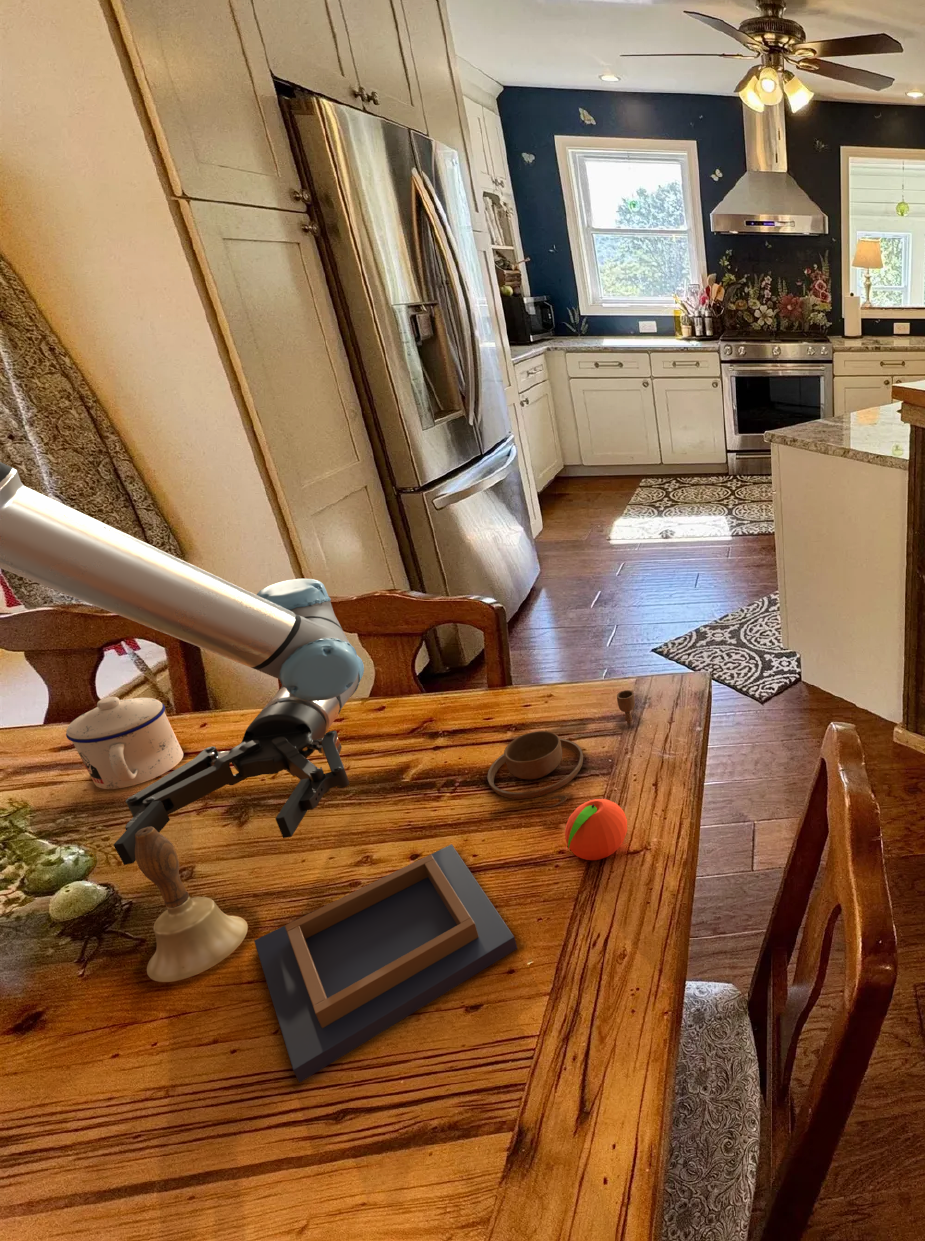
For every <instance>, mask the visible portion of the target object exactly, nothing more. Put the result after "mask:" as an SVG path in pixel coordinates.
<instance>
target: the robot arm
mask: <svg viewBox="0 0 925 1241" xmlns="http://www.w3.org/2000/svg"><path fill="white" fill-rule="evenodd" d="M21 480H22V479H21V478H20V474H19V471H18V470H17V469H16V468H14V467H12V466H10V465H8V464H5V463H4V462H2V461H0V569H1V570H4V571H6V572H9V573H11V574H14V575H16V576H19V577H21V578H24V579H26V580H29V581H31V582H34V583H36V584H38V585H42V586H43V587H46V588H49V589H51V590H54V591H56V592H59V593H61V594H64V595H67V596H68V597H70V598H71V597H72V598H74V599H76V600H79V601H82V602H84V603H87V604H89V605H91V606H94V607H97V608H100V609H101V610H104V611H107V612H109V613H112V614H113V615H114V614H115V615H117V616H120V617H121V618H125V619H128V620H130V621H133V622H135V623H138V624H140V625H142V626H145V627H147V628H150V629H153V630H155V631H157V632H160V633H163V634H165V635H167V636H170V637H173V638H175V639H177V640H180V641H183V642H186V643H188V644H191V645H193V646H195V647H198V648H200V649H203V650H205V651H208V652H211V653H213V654H216V655H218V656H221V657H223V658H226V659H229V660H231V661H233V662H236V663H238V664H241V665H243V666H246V667H249V668H251V669H254V670H256V671H258V672H260V673H263V674H266V675H267V676H270V677H273V678H275V679H277V680H279V681H280V684H281V687H280V688H279V689H278V690H277V692H276V693H275V695H274V696H273V697H272V698H271V699H270V700H269V701H268V703H266V705H265V706H264V707H263V708H262V709H261V711H260V712H259V713H258V714H257V716H255V718H254V719H253V720H252V722H251V723H250V724H249V725H248V726H247V728H246V730H245V732H244V734H243V737H242V740H241V742H240V743H238V745H236V746H234V747H232V748H231V749H230V750H225V751H218V749H217V747H216V746H209V747H206V748H204V749H203V750H202V751H201V752H199V753H198V754H197V755H196V756H195V757H194V758H193V759H191V760H189V761H188V762H186V763H184V764H182V765H181V766H180V767H177V768H176V769H174V770H173V771H171V772H169V773H167V774H166V775H164V776H162V777H160V778H159V779H158V780H156V781H155V782H152V783H151V784H149V785H147V786H146V787H144V788H143V789H141V790H139V791H138V792H136V793H134V794H133V795H131V796H129V797H127V798H126V799H125V804H126V805H127V807H128V810H129V811H130V813H131V816H132V818H130V820H129V821H128V822H127V823H126V824H125V826H124V829H125V830H124V832H123V833H122V834H121V835H120V837H119V838H118V839H117V840H116V841H115V842H114V843H113V848H114V850H115V851H116V853H117V854H118V857H119V858H120V860H121V862H122V864H123V865H124V866H125V865H126V866H127V865H131V864H135V863H136V858H135V845H136V838H135V834H136V833H137V832H138V831H139V830H140V829H142V828H146V827H154V828H155V829H156V830H157V831H158V832H159V833H160V832H161V831H163V829H164V828H165V826H167V825H168V823H169V822H170V821H171V819H170V816H169V815H171V814H174V812H176V811H179V810H181V809H182V808H184V807H186V806H188V805H190V804H192V803H195V802H196V801H198V800H200V799H202V798H204V797H205V796H207V795H210V794H211V793H213V792H215V791H217V790H220V789H221V788H223V787H225V786H235V785H237V784H238V783H239V784H240V782H243V781H244V780H247V779H249V778H253V777H254V778H256V777H259V776H262V775H274V774H275V775H276V774H279V772H282V771H286V772H287V773H288V774H290V775H291V776H293V777H295V778H297V779H299V782H298V783H297V785H296V786H295V787H294V789H293V791H292V793H291V794H290V796H289V797H288V799H287V800H286V802H285V803H284V804H283V806H282V808H281V809H280V811H279V812H278V814H277V816H276V817H275V818H274V819H275V822H276V824H277V826H278V830H279V831H280V834H281V837H282V838H283V839H287V838H291V837H293V835H294V834H295V832H296V830H297V828H298V827H299V826H300V825H301V824H300V823H301V822H302V820H303V819H304V817H305V815H306V814H307V812H308V811H311V810H315V808H316V807H317V806H318V805H319V803H320V802H321V800H322V798H323V797H324V795H325V794H327V793H328V792H329V791H330V789H333V788H335V787H336V788H337V789H344V788H346V787H348V786H349V785H350V780H349V777H348V774H347V772H346V769H345V765H344V763H343V761H342V759H341V756H340V753H341V751H342V744H341V741H340V738H339V735H338V732H337V730H330V728H331V726H332V725H333V723H334V722H335V720H336V719H337V717H338V716H339V714H340V713H341V711H342V709H343V708H344V706H345V705H346V703H347V702H348V701H349V699H350V698H351V697H352V696H353V695H354V694H355V693H356V691H357V690H358V688H359V686H360V682H361V680H362V678H363V676H364V673H365V665H364V662H363V660H362V658H361V657H360V656H359V655H358V654H357V650H356V648H355V647H354V646H353V645H352V644H351V642H350V641H349V638H348V637H347V636H346V633H345V632H344V630H343V628H342V626H341V624H340V622H339V620H338V618H337V616H336V614H335V612H334V607H333V604H332V598H331V597H330V596H329V594H328V591H327V589H326V587H325V584H324V583H323V582H322V581H320V580H318V579H314V578H293V579H287V580H283V581H282V580H281V581H278V582H275V583H272V584H270V585H267V586H264V587H263V588H262V589H260V590H259V591H258V592H257V593H254V592H251V591H250V590H247V589H245V588H243V587H241V586H240V585H236V584H235V583H233V582H230V581H228V580H226V579H224V578H223V577H220V576H217V575H215V574H213V573H211V572H209V571H206V570H204V569H203V568H201V567H198V566H196V565H195V564H192V563H189V562H188V561H186V560H183V559H181V558H179V557H177V556H175V555H173V554H171V553H168V552H166V551H164V550H163V549H160V548H158V547H155V546H153V545H151V544H149V543H147V542H145V541H143V540H141V539H138V538H137V537H135V536H133V535H130V534H128V533H126V532H124V531H122V530H119V529H117V528H115V527H113V526H111V525H109V524H106V523H104V522H102V521H100V520H99V519H96V518H94V517H92V516H90V515H87V514H85V513H84V512H81V511H79V510H77V509H75V508H73V507H71V506H69V505H66V504H64V503H62V502H59V501H58V500H56V499H53V498H51V497H50V496H48V495H45V494H43V493H41V492H39V491H37V490H34V489H33V488H30V487H28V486H25V485H24V483H23V482H22V481H21ZM315 751H318V753H319V754H322V757H325V758H326V761H327V764H328V767H329V770H330V771H329V772H325V773H324V769H323V767H322V766H320V768H319V767H318V766H316V765H315V764H314V763H313V762H311V761H310V760H309V759H308V758H309V757H310V756H312V754H314V752H315ZM231 765H232V766H233V767H234V769H235V770H236V771H237V773H234V772H233V770H232V768H231Z"/></svg>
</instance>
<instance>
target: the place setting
mask: <svg viewBox="0 0 925 1241" xmlns="http://www.w3.org/2000/svg"><path fill="white" fill-rule="evenodd" d="M616 701H617V706H618V709H619V711H621V712H622V713H624V714H625V716H624V721H625V722H626V724H627V725H631V724H632V723H633V722H632V720H633V716H632V714H631V713H632V711H633V710H634V708H635V705H636V702H635V701H636V700H635V694H634V691H633V690H629V689H624V690H622V691H619V692H618V693H617V694H616ZM504 748H505V749H504V751H503V754H501V755H500V756H498V758H496V759H495V761H494V762H493V763H492V764H491V765H490V767H489V769H488V772H487V782H488V785H489V787H490V789H491V790H493V792H495V793H496V794H497V795H499V796H501V797H503V798H507V799H515V800H517V799H518V800H523V799H525V800H526V799H533V798H537V797H540V796H541V797H542V796H544V795H547V794H550V793H553V792H554V791H557V790H559V789H560V788H562V787H564V786H565V785H567V784H568V783H570V782H571V781H572V780H574V778H575V777H576V776H577V775H578V774H579V772H581V771H580V770H581V768H582V766H583V762H584V753H583V750H582V748H581V747H580V746H579V745H578V744H577V743H576V742H574V741H572V740H569V739H566V738H561V737H559V735H558V734H556V733H554V732H551V731H547V730H541V731H540V730H539V731H532V732H528V733H525V734H522V735H519V736H518V737H516V738H514V739H512V740H511V741H510V742H509V743H507V745H506V746H505V747H504ZM563 748H566V749H568V750H571V751H572V752H574V753H575V754H576V756H577V757H578V763H577V765H576V767H575V768H574V769H573V770H572V771H571V772H570V773H569V774H568V775H567V776H565V777H564V778H563V779H560V780H559V781H557V782H556V783H553V784H551V785H548V786H546V787H542V788H539V789H535V790H531V791H530V790H529V791H523V792H521V791H520V792H519V791H518V792H516V791H508V790H504V789H501V788H499V787H497V786H496V785H495V777H496V774H497V772H498V770H499V769H500V768H501V767H502V766H503V765H504V764H506V767H507V769H508V771H509V773H510V774H511V775H512V776H514V777H516V778H518V779H521V780H529V781H531V780H532V781H533V780H539V779H542V778H544V777H546V776H548V775H549V774H551V773H552V772H554V771H555V769H557V768H558V766H559V765H560V763H561V761H562V759H563ZM552 799H559V800H560V801H559V802H557V803H556V804H553V805H548V806H547V808H553V807H557V806H559V805H562V804H564V803H565V802H566V801H567V800H568V796H567V795H555V796H552V797H549V798H547V799H545V800H544V801H542V802H539V805H538V806H537V807H539V808H540V807H541V808H545V806H543V805H540V804H542V803H544V802H546V801H549V800H552Z"/></svg>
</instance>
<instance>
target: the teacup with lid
mask: <svg viewBox="0 0 925 1241" xmlns="http://www.w3.org/2000/svg"><path fill="white" fill-rule="evenodd" d="M165 711H166V706H165V704H164V703H162V702H161V701H160V700H159V699H156V698H152V697H134V698H133V697H132V698H127V699H120V698H119V697H117V696H107V697H103V698H101V699H100V700H98V701H97V703H96V707H95V708H92V709H91V710H89V711H87V712H85V713H82V714H81V715H79V716H78V717H76V718H75V719H73V720H72V721H71V722H70V724H68V726H67V728H66V731H65V736H66V738H67V740H69V741H70V742H71V743H72V744H73V746H74V748H75V749H76V752H77V753H78V756H79V757H80V759H81V761H82V763H83V765H84V767H85V768H86V770H87V772H88V774H89V776H90V778H91V780H92V781H93V784H94V785H95V786H96V787H97V788H99V789H104V790H115V789H122V788H123V789H124V788H127V787H131V786H136V785H139V784H143V783H146V782H148V781H150V780H153V779H155V778H157V777H160V776H162V775H163V774H166V773H168V772H169V771H170V770H172V769H173V768H175V767H176V766H177V765H178V764H179V763H180V762H181V761H182V760H183V758H184V751H183V749H182V747H181V745H180V742H179V740H178V739H177V736H176V734H175V732H174V730H173V727H172V725H171V723H170V720H169V719H168V716H167V714H166V712H165Z"/></svg>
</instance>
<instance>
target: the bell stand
mask: <svg viewBox="0 0 925 1241" xmlns="http://www.w3.org/2000/svg"><path fill="white" fill-rule="evenodd" d="M254 945H255V949H256V952H257V955H258V958H259V962H260V964H261V968H262V972H263V975H264V978H265V982H266V985H267V988H268V992H269V996H270V998H271V1002H272V1005H273V1008H274V1011H275V1015H276V1018H277V1021H278V1025H279V1028H280V1032H281V1035H282V1038H283V1042H284V1045H285V1048H286V1052H287V1055H288V1059H289V1061H290V1065H291V1068H292V1072H293V1073H294V1076H295V1077H296V1079H297V1081H298V1083H302V1082H303V1081H305V1080H306V1079H308V1078H310V1077H311V1076H313V1075H315V1074H316V1073H318V1072H320V1071H321V1070H323V1069H324V1068H326V1067H327V1066H329V1065H331V1064H332V1063H334V1062H336V1061H338V1060H339V1059H341V1058H343V1057H344V1056H345V1055H347V1054H349V1053H350V1052H352V1051H354V1050H355V1049H357V1048H358V1047H360V1046H361V1045H363V1044H365V1043H367V1042H369V1041H370V1040H371V1039H373V1038H375V1037H376V1036H378V1035H379V1034H381V1033H383V1032H384V1031H386V1030H388V1029H390V1028H391V1027H393V1026H395V1025H396V1024H398V1023H400V1022H401V1021H403V1020H404V1019H406V1018H407V1017H409V1016H410V1015H412V1014H414V1013H416V1012H418V1011H419V1010H421V1009H422V1008H424V1007H425V1006H427V1005H429V1004H430V1003H432V1002H433V1001H435V1000H437V999H438V998H440V997H441V996H443V995H445V994H447V993H448V992H450V991H451V990H453V989H454V988H456V987H457V986H459V985H461V984H462V983H464V982H466V981H467V980H469V979H471V978H472V977H475V976H476V975H477V974H479V973H480V972H482V971H484V970H485V969H487V968H488V967H490V966H492V965H494V964H495V963H496V962H498V961H500V960H501V959H503V958H505V957H506V956H508V955H510V954H511V953H513V952H515V951H516V950H518V946H517V941H516V938H515V936H514V934H513V932H512V931H511V930H510V928H509V926H508V925H507V924H506V922H505V921H504V919H503V918H502V916H501V915H500V913H499V912H498V910H497V909H496V908H495V905H494V904H493V903H492V901H491V900H490V899H489V896H488V895H487V894H486V892H485V891H484V890H483V888H482V886H481V885H480V883H478V880H476V878H475V875H473V873H472V872H471V871H470V869H469V867H468V866H467V865H466V863H465V861H464V860H463V859H462V857H461V856H460V854H459V852H458V851H457V850H456V848H455V847H454V845H453V844H451V843H450V844H448V845H447V846H445V847H442V848H441V849H439V850H437V851H434V852H433V853H430V854H428V855H427V856H424V857H422V858H420V859H418V860H416V861H414V862H412V863H410V864H408V865H406V866H403V867H402V868H399V869H397V870H396V871H393V872H391V873H389V874H387V875H385V876H383V877H381V878H379V879H377V880H375V881H373V882H370V883H369V884H367V885H365V886H362V887H361V888H359V889H356V890H354V891H352V892H351V893H348V894H346V895H344V896H342V897H340V898H338V899H336V900H334V901H332V902H330V903H328V904H326V905H324V906H322V907H320V908H318V909H315V910H313V911H312V912H309V913H307V914H305V915H303V916H301V917H299V918H297V919H295V920H292V921H291V922H289V923H287V924H285V925H282V926H281V927H278V928H277V929H275V930H272V931H270V932H268V933H266V934H264V935H263V936H262V935H261V936H260V937H258V938H256V939H254Z"/></svg>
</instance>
